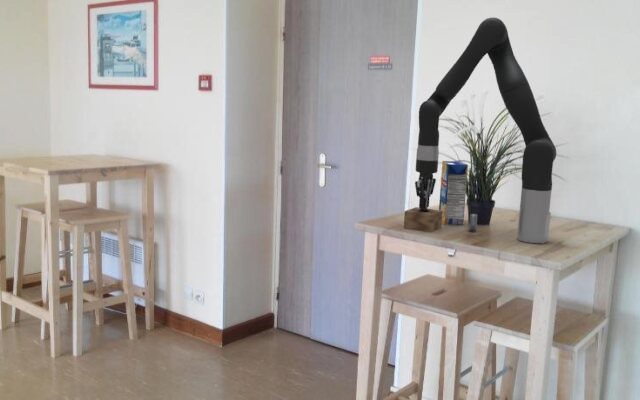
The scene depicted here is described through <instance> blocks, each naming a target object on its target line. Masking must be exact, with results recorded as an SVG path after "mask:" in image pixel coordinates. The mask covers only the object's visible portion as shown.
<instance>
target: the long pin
mask: <svg viewBox="0 0 640 400" xmlns="http://www.w3.org/2000/svg"><path fill="white" fill-rule="evenodd" d="M424 189H426V188H424ZM427 203H428V191H427V197H426V208H425V209H422V208H420V211H421V212H427V209H428V207H427Z"/></svg>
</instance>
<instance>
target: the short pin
mask: <svg viewBox="0 0 640 400" xmlns="http://www.w3.org/2000/svg"><path fill="white" fill-rule="evenodd" d="M477 222H478V214H477V213H470V214H469V224H468V232H469V233H476V232H477V224H478V223H477Z"/></svg>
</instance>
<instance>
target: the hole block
mask: <svg viewBox="0 0 640 400" xmlns="http://www.w3.org/2000/svg"><path fill="white" fill-rule="evenodd" d="M403 218H404V219H403V228H404V229H408V230H409V229H410V230H415V231H420V230H421V231H422V232H426V231H427V233H432V232H435V231H436V230H438V229H442V225H443V223H442V211H440V210H439V209H433V208H427V212H421V211H420V208H419V206H418V207H417V206H414V208H413V207H412V208H410V209H407V210H404V217H403Z"/></svg>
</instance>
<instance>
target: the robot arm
mask: <svg viewBox="0 0 640 400" xmlns="http://www.w3.org/2000/svg"><path fill="white" fill-rule="evenodd" d="M507 28H508V27H506V24H505V23H504V21H502V20H501V19H500V18H498V17H494V16H493V17H488V18H486V19H483V21H482V22H480V24H479V25H478V26H477V29H476V31H475V33H474V34H473V36H472V38H471V40H470V41H469V43H468V44H467V46H466V48H465V50H464V51H463V52H462V53H461V55H460V56H459V58H458V59H457V60H456V61H455V63H453V65H452V67H451V68H450V69H449V70H448V72H447V73H446V74H445V75H444V76H443V78H442V79H441V80H440V81H439V82H438V84H437V86H436V88H435V90H434V91H433V93H432V94H431V95H430V96H428V97H429V98H427V99H426V100H425V101H423V102H422V103H421V105H420V106H419V109H418V110H419V111H418V127H419V128H418V138H417V139H418V141H417V149H416V156H415V158H416V159H415V172H417V173H419V175H418V180H417V181H416V180H415V182H414V187H415V191H416V192H415V193H416V197H419V202H418V203H419V204H418V207H419V208H422V209H425V208H426V197H427V191H428V203H427V208H429V207H430V198H431V195H433V194H434V190H435V186H436V181H437V179H436V178H434V174H437V173H438V169H439V155H440V154H439V153H440V152H439V151H440V150H439V144H440V131H439V123H440V117H441V115H442V114H443V113H444V111H445V110H446V109H447V107H448V106H449V105H450V103H451V101H452V100H453V99H455V97H456V96H457V95H458V94H459V92H460V91H461V89H462V88H463V87H465V85H466V83H467V81H469V79H470V77H471V75H472V74H473V72H474V71H475V69H476V68H477V66H478V64H479V63H480V62H481V60H482V59H483V58H484V57H485V56H486V55H487V56H488V57H489V60H490V61H491V65H492V66H493V67H492V68H493V70H494V73H495V75H494V76H495V79H496V83H497V87H498V90H499V93H500V96H501V99H502V101H503V104H504V106H505V108H506V110H507V112H508V114H509V115H510V116H511V118H512V120H513V122H514V123H515V124H516V126H517V127H518V128H519V131H520V133H521V136H522V139H523V141H524V144H525V147H524V151H523V153H522V155H523V156H522V162H521V163H522V164H521V166H522V167H521V191H520V204H519V213H518V223H517V232H516V234H517V236H516V239H517V240H518V241H520V242H524V243H530V244H546V243H547V242H548V241H549V232H550V226H551V224H550V223H551V212H550V211H551V210H550V208H551V199H552V188H553V168H554V167H553V166H554V161H555V159H556V158H557V148H556V146H555V144H554V142H553V140H552V138H551V137H550V135H549V133H548V132H547V130H546V127H545V126H544V123H543V120H542V118H541V113H540V110H539V108H538V105H537V102H536V99H535V96H534V92H533V91H532V88H531V86H530V83H529V81H528V79H527V77H526V74H525V72H524V71H523V69H522V68H521V66H520V64H519V62H518V60H517V58H516V57H515V53H514V51H513V48H512V45H511V41H510V37H509V32H508V29H507ZM424 188H426V189H424Z"/></svg>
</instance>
